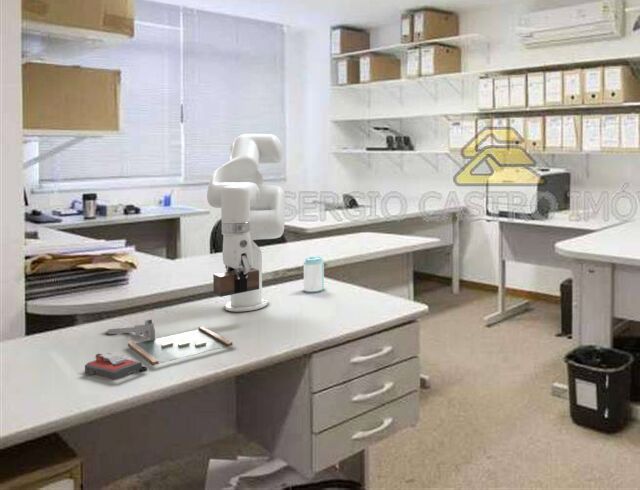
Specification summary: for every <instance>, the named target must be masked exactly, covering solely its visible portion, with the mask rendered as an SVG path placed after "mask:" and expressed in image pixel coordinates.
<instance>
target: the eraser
mask: <svg viewBox="0 0 640 490" xmlns="http://www.w3.org/2000/svg"><path fill="white" fill-rule="evenodd" d="M241 271H242V270H239V274H240V272H241ZM247 275H248V277H247V291H252V290H257V289H259V270H257V269H254V268H250V270H249V272H248V274H247ZM212 277H213V294H214V295H216V296H219V297H227V296H230V295H232V294H237V293H235V279H236V272H235V270H234V271H228V272H226V271H223V272H218V273H213V274H212ZM247 291H246V292H247Z"/></svg>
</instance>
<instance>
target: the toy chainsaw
mask: <svg viewBox="0 0 640 490" xmlns="http://www.w3.org/2000/svg"><path fill="white" fill-rule="evenodd" d="M147 371H148V367H147V366H143V362H140V361H136V360H133V357H131V356H127V355H124V354H121V355H118V354H115V353H110V352H106V353H96V354H95V360H92V361H89V362H87V363H86V364H84V373H85V374H89V375H92V376H98V377H102V378H106V379H110V380H120V379H123V378H125V377H128V376H129V375H130V374H136V373H143V372H147Z"/></svg>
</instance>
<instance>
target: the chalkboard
mask: <svg viewBox="0 0 640 490" xmlns="http://www.w3.org/2000/svg"><path fill="white" fill-rule="evenodd" d="M169 342H172V343H173V345H170V346H166V347H162V346H161V344H165V343H169ZM185 342H189V343H190V345H186V346H182V347H179V346H178V344H181V343H185ZM200 342H206V345H202V346H197V347H196V346H195V344H196V343H200ZM127 346H128V347H130V349H132V350H133V351H135V352H136V353H137V354H139V355H140V356H141V357H142V358H144V359H145V360H146V361H147V362H149V363H150V364H151V365H153V366H155V365H159V364H163V363H167V362H170V361H176V360H180V359H182V358H187V357H190V356H194V355H199V354H202V353H206V352H211V351H215V350H218V349H222V348H227V347H231V346H233V342H232V341H230V340H228V339H226V338H225V337H223V336H221V335H219V334H217V333H216V332H214V331H212V330H211V329H209V328H206V327H205V326H198V329H195V330H189V331H185V332H181V333H175V334H171V335H167V336H162V337H158V338H155V339H153V340H150V339H149V340H148V339H147V340H145V341H139V342H135V341H129V342H127Z"/></svg>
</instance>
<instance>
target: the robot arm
mask: <svg viewBox="0 0 640 490" xmlns="http://www.w3.org/2000/svg"><path fill="white" fill-rule="evenodd" d="M283 154H284V148H283V145H282V142H281V140H280V139H279V137H278V136H277V135H275V134H271V133H245V134H244V133H243V134H241V135H239V136H236V137H235V139H234V140H233V142H232V143H231V145H230V147H229V161H227V162H226V163H224V164H223V165H221V166H219V167H218V168H217V169H215V170H214V171H213V172H212V174H211V176H210V179H209V182H208V186H207V190H206V191H207V192H206V200H207V203H208V204H209V206H210V207H212V208H216V209H221V210H220V211H221V212H220V213H221V217H220V218H221V235H223V238H222V264H223V265H225V272H228V271H234V270H235V272H236V279H235V293H237V294H232V295H229V296H230V301H229V302H227V303H225V305H224V307H225V310H226V311H229V312H235V313H236V312H237V313H238V312H239V313H240V312H241V313H243V312H251V311H257V310H260V309H262V308H265V307H266V306H267V305H268V300H267V299H265V298H263V253H262V250H261V248H260V247H259V246H258V245H257V244H256V242H254V241H257V240H272V239H273V240H274V239H278V238H281V237H282V236H283V235H284V231H285V224H286V223H285V221H286V194H285V191H284V189H283V188H282V187H281V186H279V185H276V184H275V185H273V184H272V185H265V184H264V176H263V175H262V173H261V172H260V171H259V164H261V165H262V164H279V163H280V162H281V161H282V159H283V157H284V155H283ZM250 268H254V269H257V270H259V289H257V290H252V291H247V277H248V275H247V274H248V272H249V270H250ZM239 270H242V271H241V272H240V274H239ZM246 291H247V292H246Z"/></svg>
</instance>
